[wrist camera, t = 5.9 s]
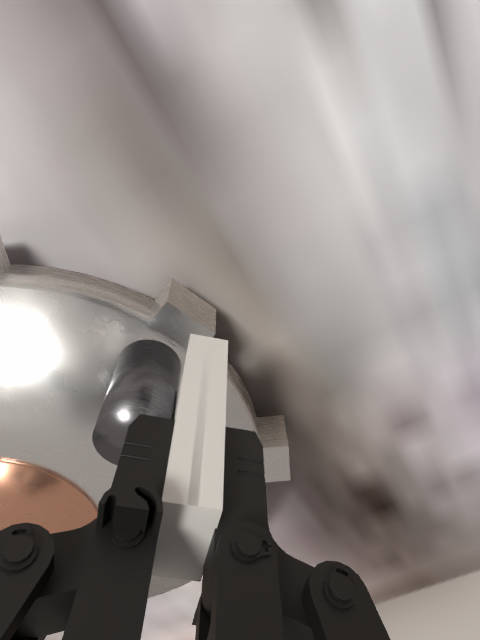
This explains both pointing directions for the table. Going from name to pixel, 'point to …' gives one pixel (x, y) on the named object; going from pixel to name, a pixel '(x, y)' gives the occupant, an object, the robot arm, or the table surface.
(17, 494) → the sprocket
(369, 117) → the table surface
